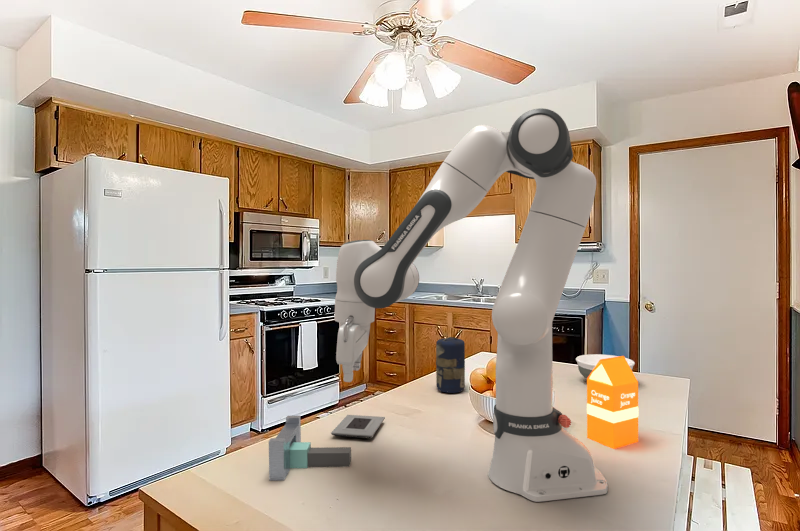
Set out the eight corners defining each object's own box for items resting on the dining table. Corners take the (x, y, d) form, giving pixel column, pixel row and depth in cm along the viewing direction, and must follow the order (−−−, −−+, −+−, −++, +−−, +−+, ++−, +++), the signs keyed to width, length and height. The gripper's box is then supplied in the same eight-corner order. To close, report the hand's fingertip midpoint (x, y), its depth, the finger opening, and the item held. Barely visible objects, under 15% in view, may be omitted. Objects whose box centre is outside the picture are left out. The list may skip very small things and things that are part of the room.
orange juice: (639, 442, 111) (638, 358, 110) (613, 449, 107) (613, 362, 106) (610, 431, 118) (610, 352, 117) (586, 437, 114) (585, 356, 113)
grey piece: (300, 449, 109) (300, 415, 109) (284, 480, 94) (283, 441, 94) (288, 449, 109) (287, 415, 109) (269, 480, 94) (268, 441, 94)
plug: (351, 459, 103) (351, 441, 103) (349, 468, 99) (348, 449, 99) (287, 460, 103) (287, 442, 103) (282, 468, 99) (282, 449, 99)
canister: (432, 388, 158) (431, 335, 157) (457, 385, 161) (457, 333, 160) (443, 396, 149) (442, 340, 148) (470, 393, 152) (469, 338, 151)
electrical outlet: (372, 444, 113) (372, 434, 112) (331, 441, 115) (330, 431, 115) (384, 424, 125) (384, 415, 125) (347, 422, 128) (347, 413, 127)
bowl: (587, 391, 152) (587, 366, 152) (568, 376, 171) (568, 354, 170) (645, 391, 151) (645, 366, 151) (620, 376, 170) (620, 354, 170)
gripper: (361, 321, 92) (358, 390, 92) (374, 308, 112) (372, 364, 113) (329, 319, 92) (327, 388, 93) (349, 306, 113) (346, 363, 113)
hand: (352, 375), depth 103 cm, fingers open, 8 cm apart
